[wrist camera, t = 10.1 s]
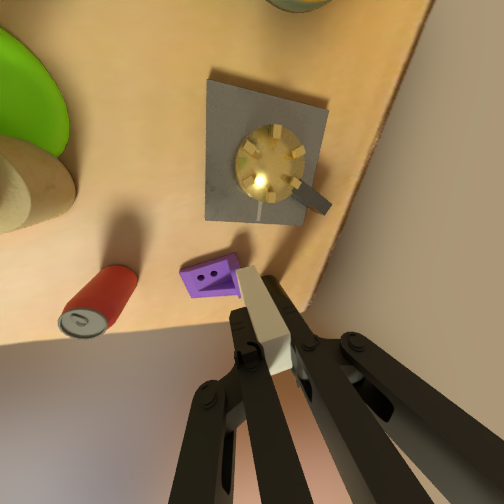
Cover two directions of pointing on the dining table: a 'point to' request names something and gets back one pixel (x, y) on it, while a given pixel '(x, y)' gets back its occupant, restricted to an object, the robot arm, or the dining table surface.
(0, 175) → the sugar bowl
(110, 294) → the beer can
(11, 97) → the wineglass
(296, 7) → the planter
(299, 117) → the plate
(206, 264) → the bracket
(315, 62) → the dining table surface
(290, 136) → the gold tabbed disc
